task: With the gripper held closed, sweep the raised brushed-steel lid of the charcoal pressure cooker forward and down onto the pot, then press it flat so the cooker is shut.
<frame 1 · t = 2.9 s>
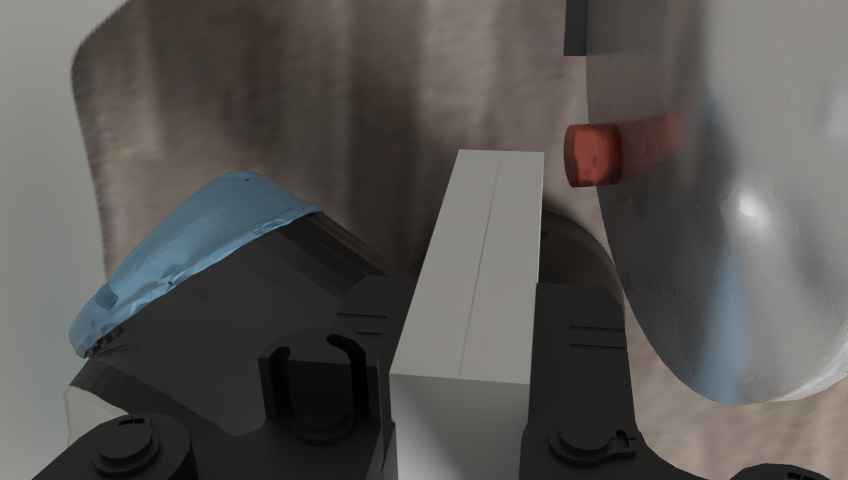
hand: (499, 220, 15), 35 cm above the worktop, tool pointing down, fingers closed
pot lid: (677, 65, 24), point 23 cm above the worktop, hinge at 75.0°
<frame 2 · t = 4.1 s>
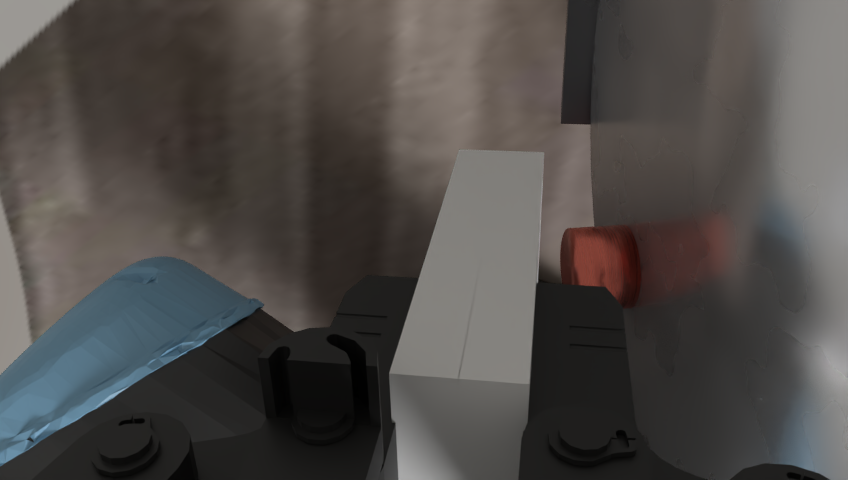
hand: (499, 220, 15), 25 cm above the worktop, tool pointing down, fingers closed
pot lid: (731, 183, 16), point 23 cm above the worktop, hinge at 75.0°
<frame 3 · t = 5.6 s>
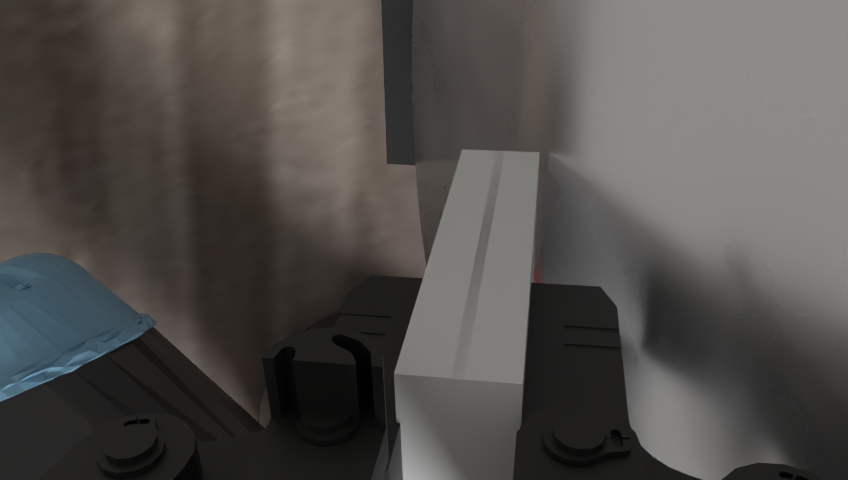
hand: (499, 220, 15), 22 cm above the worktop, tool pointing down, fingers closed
pot lid: (550, 257, 14), point 23 cm above the worktop, hinge at 65.6°, touching gripper
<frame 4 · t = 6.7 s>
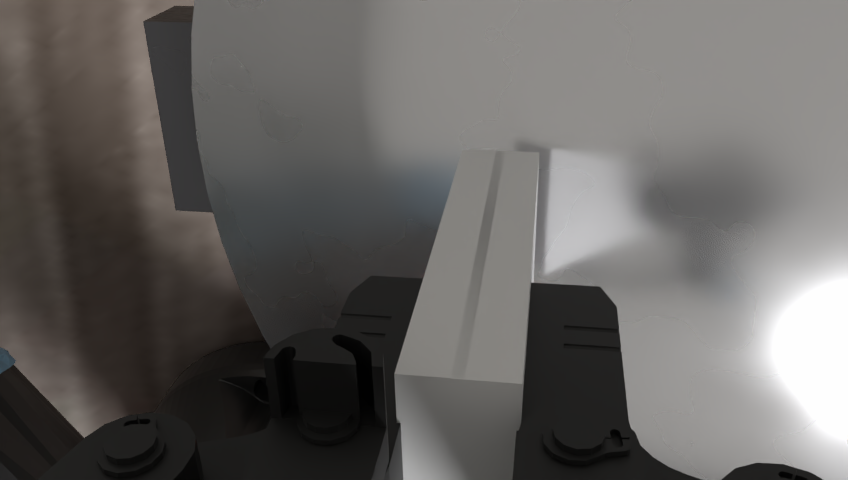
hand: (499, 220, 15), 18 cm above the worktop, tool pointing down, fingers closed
pot lid: (592, 246, 14), point 18 cm above the worktop, hinge at 23.3°, touching gripper
pressure cooker pot: (589, 17, 30), on the worktop
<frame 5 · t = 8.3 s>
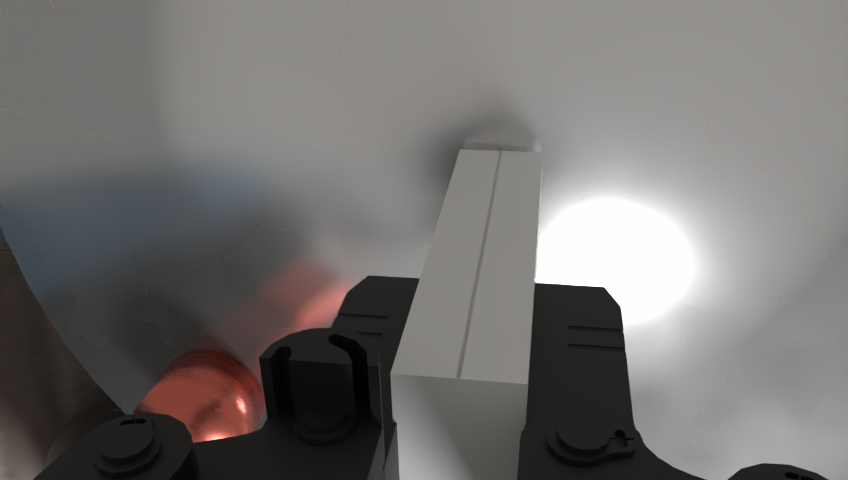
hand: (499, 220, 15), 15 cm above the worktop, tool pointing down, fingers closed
pot lid: (448, 217, 15), point 15 cm above the worktop, hinge at 2.9°, touching gripper
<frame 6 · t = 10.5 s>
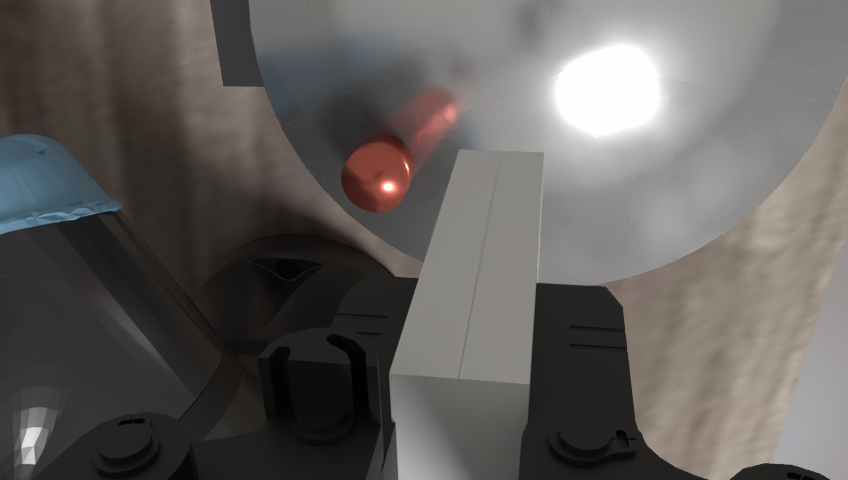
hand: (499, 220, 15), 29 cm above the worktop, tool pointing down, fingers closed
pot lid: (535, 32, 27), point 15 cm above the worktop, hinge at 1.0°
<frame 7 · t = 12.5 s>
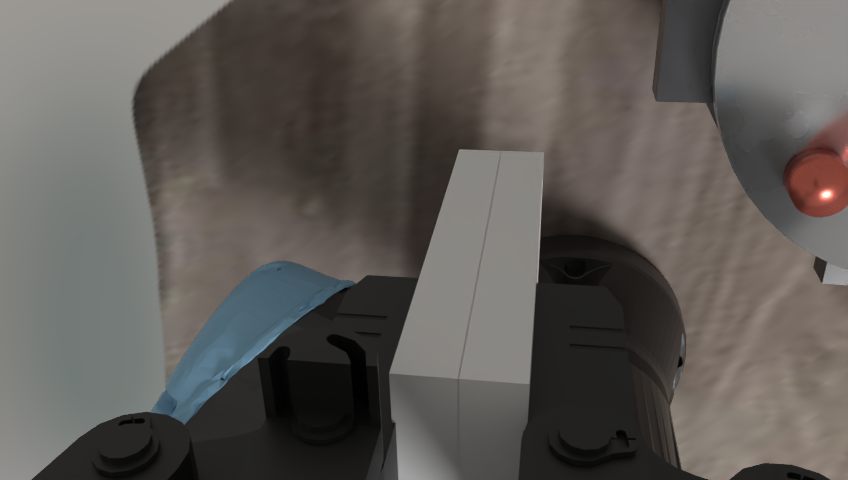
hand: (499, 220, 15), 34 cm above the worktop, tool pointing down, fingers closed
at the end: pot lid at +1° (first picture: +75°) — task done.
